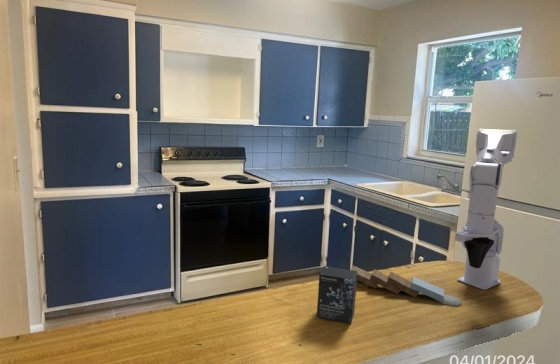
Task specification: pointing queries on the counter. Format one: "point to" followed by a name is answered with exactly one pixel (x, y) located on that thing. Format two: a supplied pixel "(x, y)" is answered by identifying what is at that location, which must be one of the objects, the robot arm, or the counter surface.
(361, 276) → the domino
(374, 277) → the domino
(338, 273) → the box
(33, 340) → the counter surface
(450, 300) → the disc
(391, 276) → the domino
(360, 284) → the domino
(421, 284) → the domino head
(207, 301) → the counter surface
